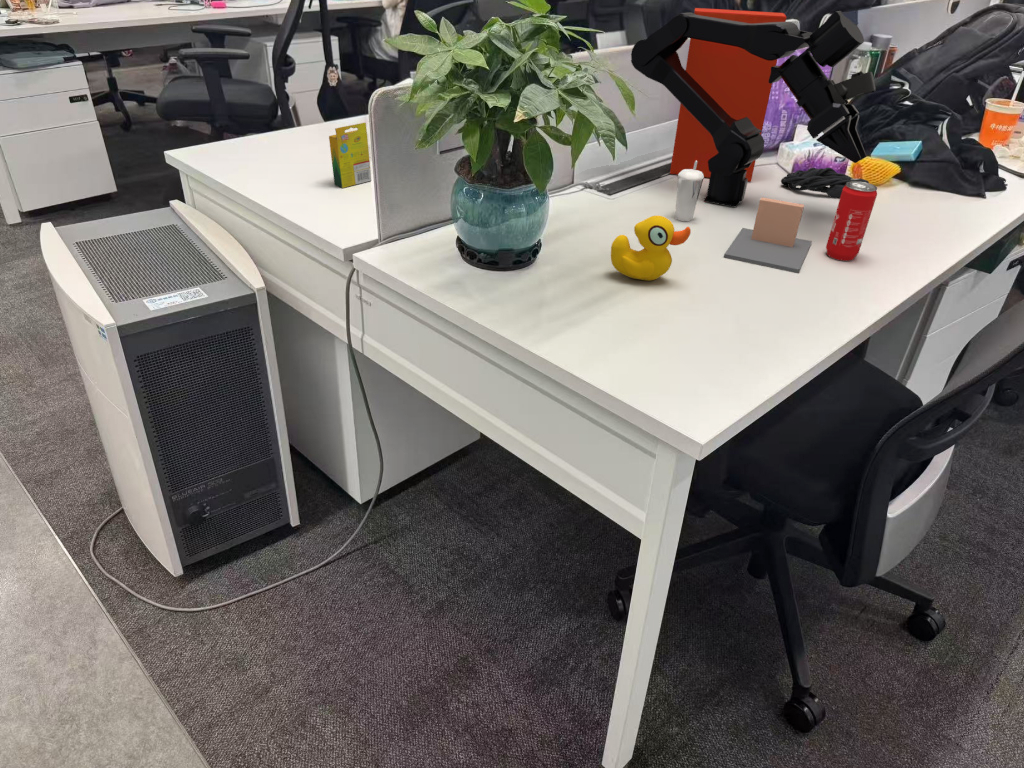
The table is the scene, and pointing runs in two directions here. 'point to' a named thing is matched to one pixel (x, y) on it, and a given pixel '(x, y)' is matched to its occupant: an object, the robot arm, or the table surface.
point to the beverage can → (851, 220)
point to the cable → (819, 181)
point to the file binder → (723, 89)
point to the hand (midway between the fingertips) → (861, 159)
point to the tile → (777, 221)
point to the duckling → (647, 249)
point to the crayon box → (350, 156)
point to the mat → (768, 252)
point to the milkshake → (688, 193)
